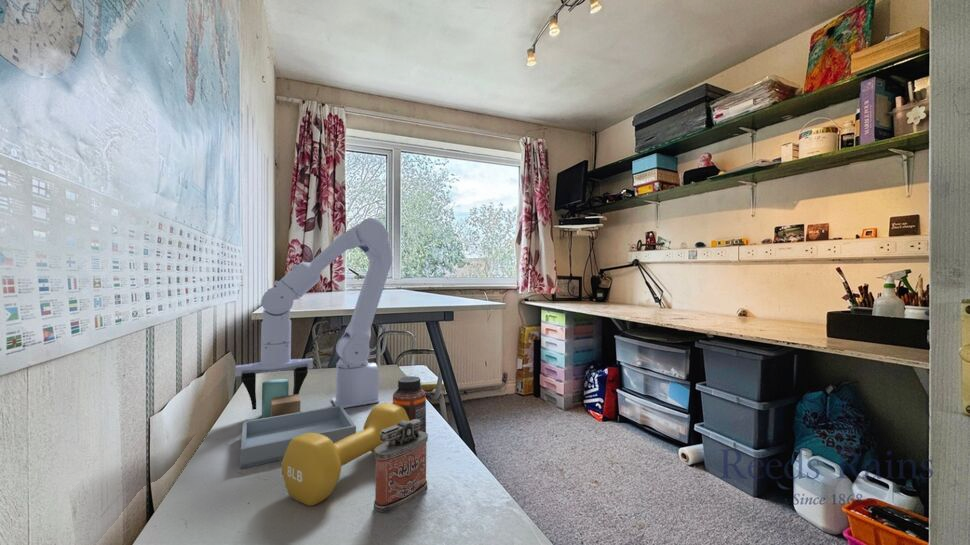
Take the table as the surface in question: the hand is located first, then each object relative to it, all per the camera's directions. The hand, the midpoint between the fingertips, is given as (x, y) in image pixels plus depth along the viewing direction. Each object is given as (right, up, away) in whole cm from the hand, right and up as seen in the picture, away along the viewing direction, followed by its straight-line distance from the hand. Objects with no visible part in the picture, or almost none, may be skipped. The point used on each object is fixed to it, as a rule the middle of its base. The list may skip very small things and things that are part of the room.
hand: (275, 405), depth 80 cm
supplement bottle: (+32, -2, -14) cm, 35 cm away
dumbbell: (+26, -2, -24) cm, 36 cm away
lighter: (+35, -2, -31) cm, 46 cm away
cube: (+5, -2, -5) cm, 7 cm away
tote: (+12, -2, -13) cm, 18 cm away
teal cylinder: (0, -2, 0) cm, 2 cm away
